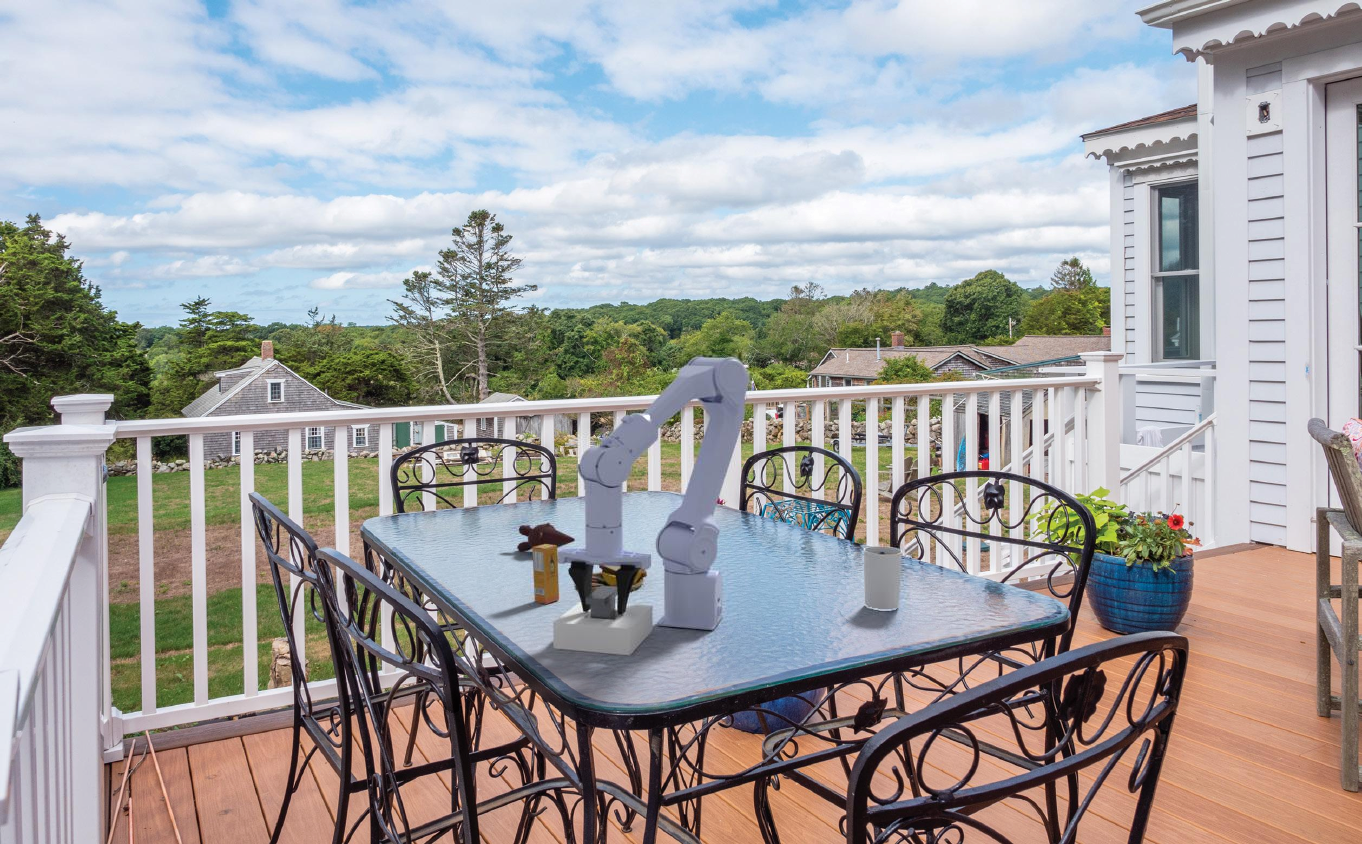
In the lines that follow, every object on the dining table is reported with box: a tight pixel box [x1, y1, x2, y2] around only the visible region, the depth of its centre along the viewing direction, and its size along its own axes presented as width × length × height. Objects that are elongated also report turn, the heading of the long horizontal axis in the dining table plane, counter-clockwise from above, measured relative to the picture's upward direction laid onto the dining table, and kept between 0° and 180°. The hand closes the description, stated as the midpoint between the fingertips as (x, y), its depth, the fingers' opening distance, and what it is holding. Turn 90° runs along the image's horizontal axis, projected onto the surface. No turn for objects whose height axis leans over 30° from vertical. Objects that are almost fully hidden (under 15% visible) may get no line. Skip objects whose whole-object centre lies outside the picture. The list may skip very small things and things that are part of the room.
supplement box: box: [531, 544, 560, 605], centre depth 159 cm, size 3×3×10 cm
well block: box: [552, 600, 654, 656], centre depth 139 cm, size 12×12×4 cm
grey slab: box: [586, 586, 618, 620], centre depth 138 cm, size 3×7×6 cm, turn 166°
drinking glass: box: [863, 545, 903, 609], centre depth 156 cm, size 7×7×10 cm
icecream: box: [516, 522, 576, 552], centre depth 196 cm, size 7×8×15 cm
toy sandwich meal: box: [592, 565, 648, 592], centre depth 171 cm, size 12×14×5 cm
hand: (604, 611), depth 139 cm, fingers open, 5 cm apart
